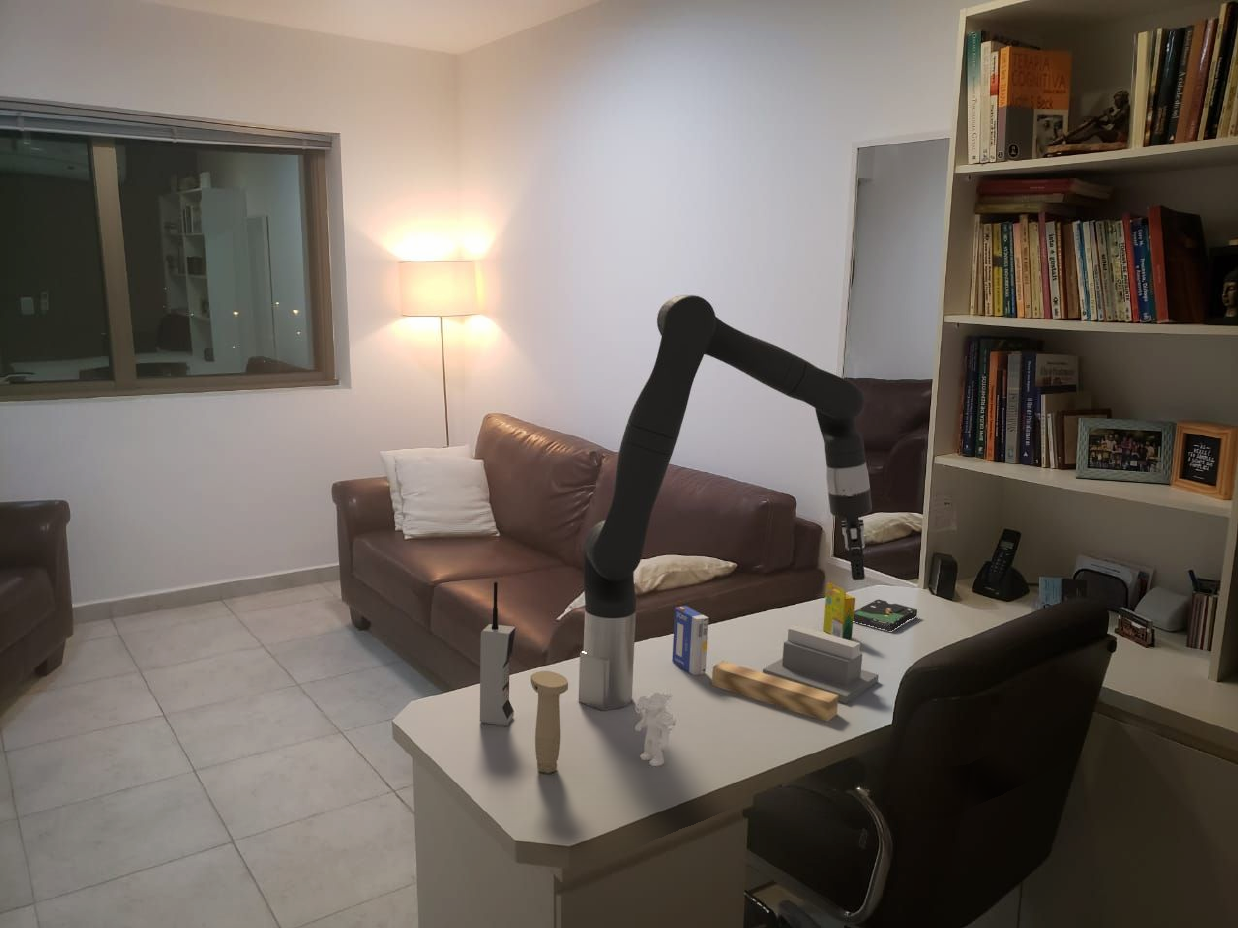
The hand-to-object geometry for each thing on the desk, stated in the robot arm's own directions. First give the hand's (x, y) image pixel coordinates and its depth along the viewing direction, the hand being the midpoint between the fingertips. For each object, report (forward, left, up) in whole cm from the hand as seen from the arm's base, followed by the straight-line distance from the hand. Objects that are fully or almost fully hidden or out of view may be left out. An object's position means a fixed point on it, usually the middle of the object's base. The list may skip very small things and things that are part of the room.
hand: (857, 571), depth 173 cm
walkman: (-11, +29, -25) cm, 40 cm away
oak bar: (-12, +9, -25) cm, 29 cm away
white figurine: (-46, +11, -25) cm, 54 cm away
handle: (-60, +21, -25) cm, 68 cm away
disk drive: (+46, +13, -25) cm, 54 cm away
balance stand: (+3, +7, -24) cm, 26 cm away
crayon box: (+28, +16, -25) cm, 40 cm away
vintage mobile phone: (-54, +39, -25) cm, 71 cm away
